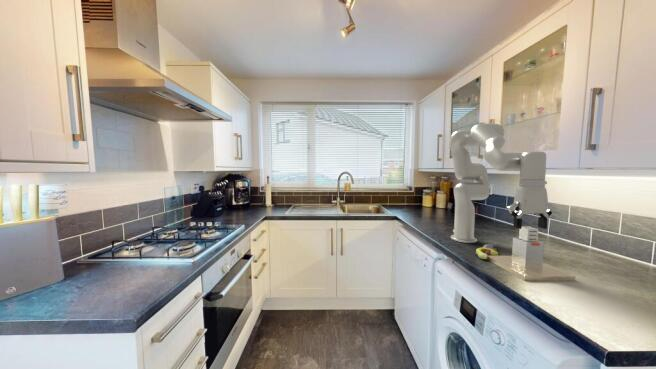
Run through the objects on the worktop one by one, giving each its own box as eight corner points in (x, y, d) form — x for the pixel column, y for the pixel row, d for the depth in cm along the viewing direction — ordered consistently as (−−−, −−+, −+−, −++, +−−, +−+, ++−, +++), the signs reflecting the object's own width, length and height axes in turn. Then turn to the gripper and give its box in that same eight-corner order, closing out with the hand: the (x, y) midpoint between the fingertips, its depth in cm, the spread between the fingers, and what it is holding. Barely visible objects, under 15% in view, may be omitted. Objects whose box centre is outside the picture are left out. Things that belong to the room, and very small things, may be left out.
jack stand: (486, 259, 104) (487, 233, 103) (527, 259, 104) (529, 233, 104) (524, 280, 84) (526, 248, 83) (575, 280, 84) (577, 248, 84)
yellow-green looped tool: (485, 243, 123) (471, 257, 106) (486, 238, 123) (472, 251, 105) (504, 248, 118) (492, 263, 100) (505, 243, 117) (493, 257, 100)
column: (517, 262, 96) (519, 226, 95) (527, 262, 96) (529, 226, 95) (525, 266, 92) (528, 229, 91) (536, 266, 92) (539, 229, 91)
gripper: (545, 183, 96) (543, 225, 97) (502, 183, 96) (500, 225, 96) (563, 184, 88) (561, 230, 89) (517, 184, 88) (515, 230, 89)
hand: (529, 228), depth 93 cm, fingers open, 9 cm apart
